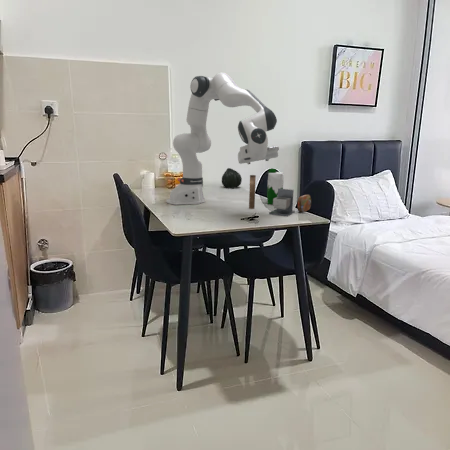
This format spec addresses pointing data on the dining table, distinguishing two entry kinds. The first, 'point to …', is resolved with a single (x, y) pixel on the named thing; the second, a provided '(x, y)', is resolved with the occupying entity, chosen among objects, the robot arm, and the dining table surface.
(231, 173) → the squash
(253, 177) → the brown wooden rod
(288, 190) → the bracket
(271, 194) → the milk carton
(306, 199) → the tin
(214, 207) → the dining table surface
